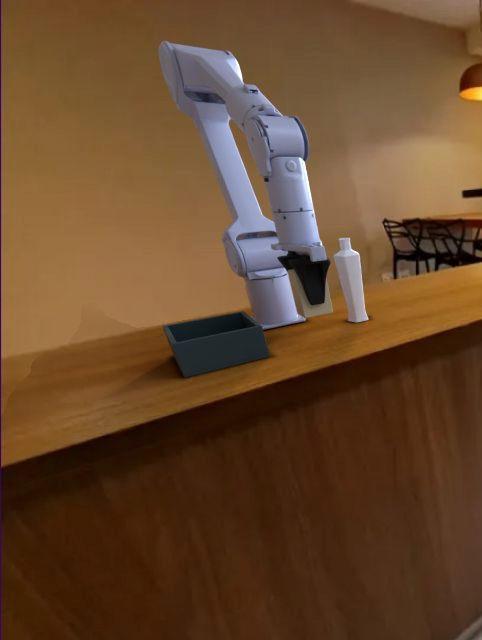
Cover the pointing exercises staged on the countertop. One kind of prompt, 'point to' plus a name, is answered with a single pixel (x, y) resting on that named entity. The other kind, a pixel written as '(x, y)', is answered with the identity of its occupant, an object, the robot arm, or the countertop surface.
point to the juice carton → (302, 301)
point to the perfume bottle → (351, 280)
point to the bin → (216, 342)
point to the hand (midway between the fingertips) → (312, 301)
